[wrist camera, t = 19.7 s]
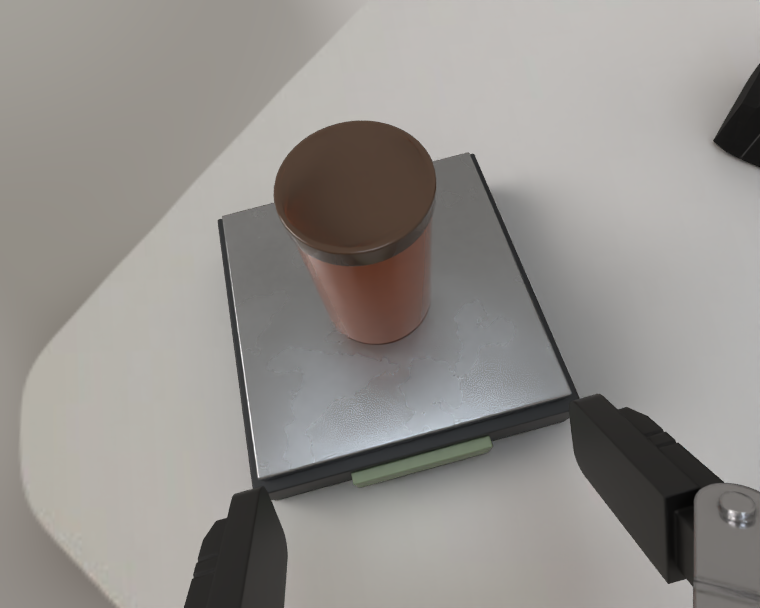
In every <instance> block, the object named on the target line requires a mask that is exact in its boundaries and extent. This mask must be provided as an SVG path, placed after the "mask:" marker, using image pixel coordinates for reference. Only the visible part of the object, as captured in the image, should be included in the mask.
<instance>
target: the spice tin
mask: <svg viewBox="0 0 760 608" xmlns="http://www.w3.org/2000/svg"><path fill="white" fill-rule="evenodd" d="M436 189H437V178H436V171H435V167H434V164H433V162H432V159H431V157H430V155H429V154H428V152H427V151H426V149H425V148H424V147H423V146H422V145H421V144H420V142H419V141H418V140H416V139H415V138H414V137H413V136H411V135H410V134H408V133H407V132H405V131H404V130H401V129H399V128H397V127H395V126H392V125H389V124H385V123H381V122H375V121H349V122H343V123H338V124H335V125H331V126H328V127H326V128H323V129H321V130H319V131H317V132H315V133H313V134H311V135H310V136H308V137H307V138H305V139H304V140H302V141H301V142H300V143H299V144H298V145H296V146H295V147H294V148H293V150H292V151H291V152H290V153H289V154H288V155H287V157H286V158H285V160H284V161H283V163H282V165H281V166H280V168H279V171H278V173H277V176H276V180H275V185H274V203H275V208H276V211H277V214H278V216H279V218H280V220H281V222H282V225H283V227H284V229H285V231H286V233H287V234H288V236H289V237H290V239H291V240H292V241H293V242H294V243H295V245H296V247H297V249H298V251H299V253H300V255H301V257H302V260H303V262H304V264H305V266H306V268H307V270H308V272H309V275H310V277H311V279H312V281H313V283H314V285H315V287H316V290H317V292H318V294H319V296H320V298H321V300H322V302H323V305H324V307H325V309H326V311H327V313H328V315H329V317H330V319H331V321H332V322H333V324H334V325H335V326H336V327H337V329H338V330H340V331H341V332H342V333H343V334H345V335H346V336H348V337H349V338H352V339H354V340H356V341H359V342H363V343H368V344H383V343H388V342H392V341H395V340H398V339H400V338H402V337H404V336H406V335H407V334H409V333H411V332H412V331H413V330H414V329H415V328H416V327H417V326H418V325H419V324H420V323H421V321H422V320H423V319H424V317H425V315H426V313H427V311H428V308H429V305H430V300H431V270H432V224H433V213H434V210H435V205H436Z"/></svg>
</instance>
